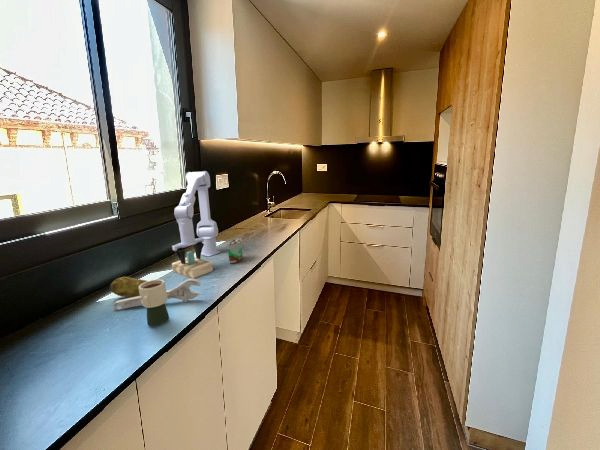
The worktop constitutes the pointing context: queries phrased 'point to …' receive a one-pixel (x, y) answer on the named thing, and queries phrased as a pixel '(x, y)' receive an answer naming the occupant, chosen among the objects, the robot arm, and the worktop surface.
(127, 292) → the potato
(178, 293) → the wrench
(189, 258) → the peg
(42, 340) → the worktop surface
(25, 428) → the worktop surface
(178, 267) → the hole block
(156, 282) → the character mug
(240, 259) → the food container
